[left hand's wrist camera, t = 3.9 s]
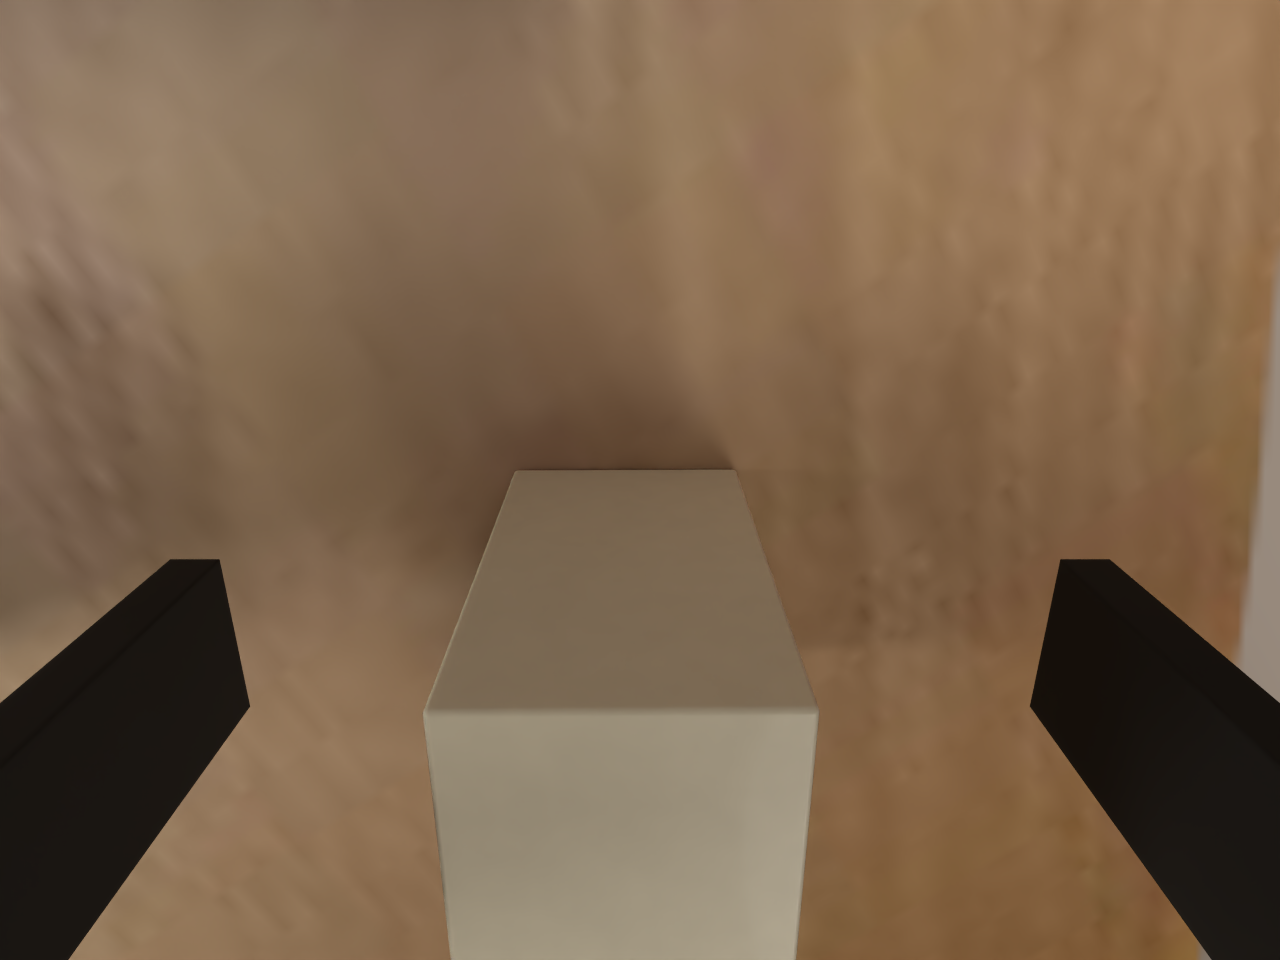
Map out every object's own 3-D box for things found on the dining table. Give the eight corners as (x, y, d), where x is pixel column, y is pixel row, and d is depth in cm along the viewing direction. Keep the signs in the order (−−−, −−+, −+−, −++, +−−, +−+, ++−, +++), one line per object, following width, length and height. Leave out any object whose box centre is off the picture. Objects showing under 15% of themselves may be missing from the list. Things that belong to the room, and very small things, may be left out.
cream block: (728, 658, 16) (794, 992, 10) (525, 659, 16) (453, 996, 10) (736, 468, 15) (821, 709, 8) (514, 469, 15) (419, 711, 8)
